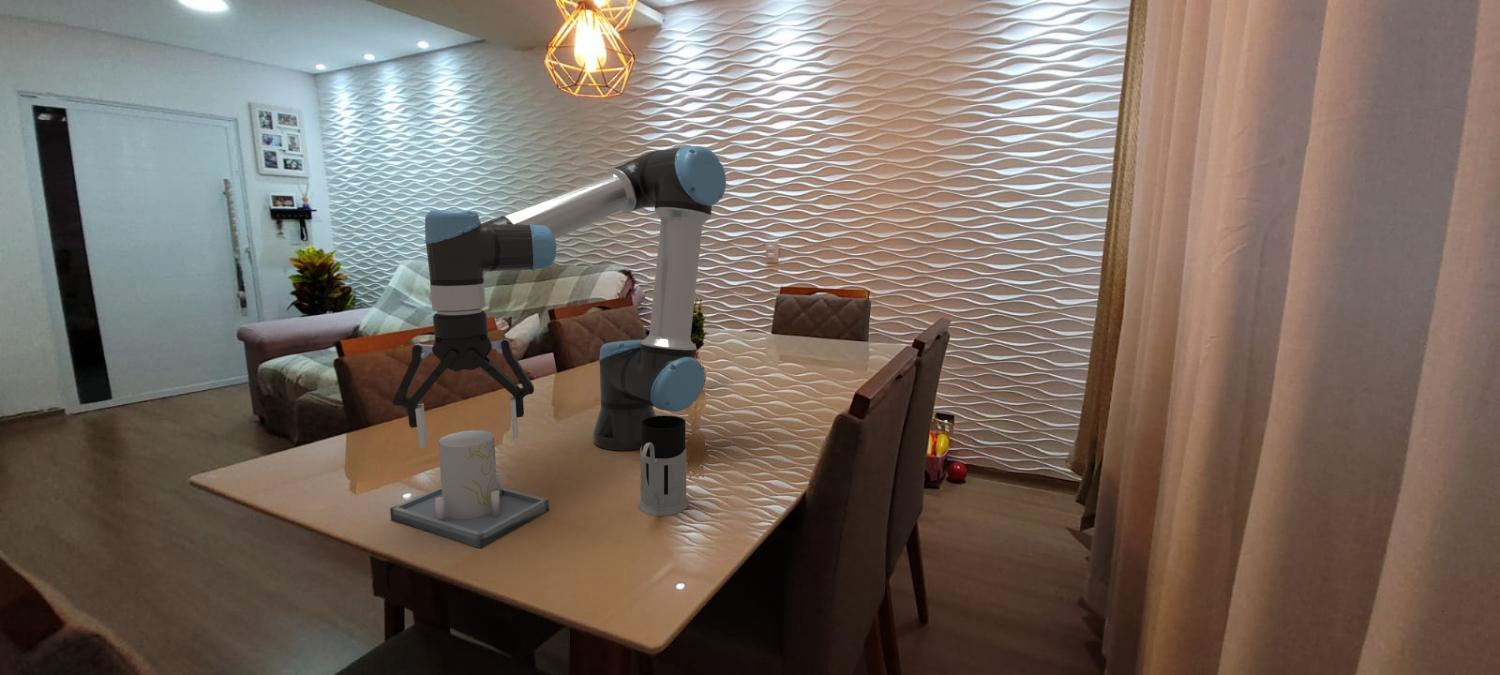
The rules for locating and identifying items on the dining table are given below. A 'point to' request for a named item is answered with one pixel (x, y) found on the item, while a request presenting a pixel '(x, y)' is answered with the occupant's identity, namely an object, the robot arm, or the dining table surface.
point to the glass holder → (663, 466)
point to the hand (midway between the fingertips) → (470, 441)
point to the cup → (467, 473)
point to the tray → (477, 532)
